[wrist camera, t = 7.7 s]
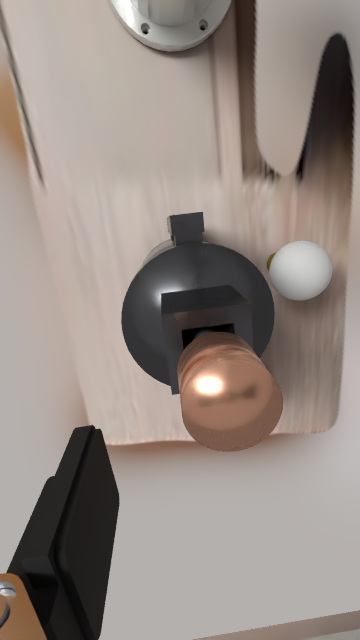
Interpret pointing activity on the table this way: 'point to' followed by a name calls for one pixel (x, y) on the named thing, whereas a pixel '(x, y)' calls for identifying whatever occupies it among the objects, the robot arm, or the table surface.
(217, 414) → the plunger
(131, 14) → the robot arm
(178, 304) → the airpot
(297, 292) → the light bulb
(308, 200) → the table surface
